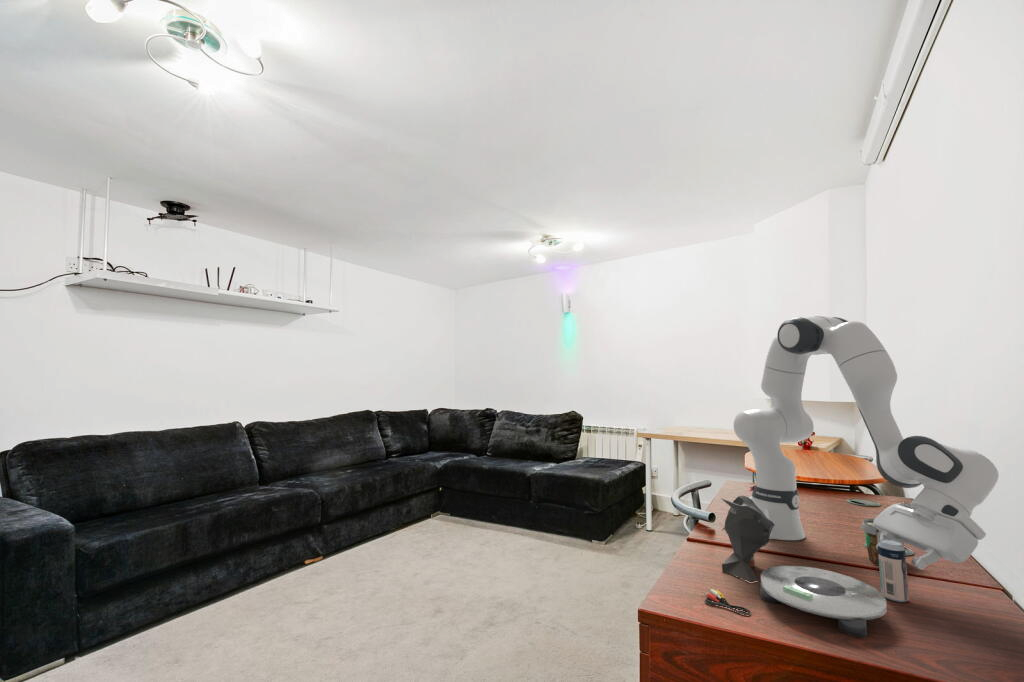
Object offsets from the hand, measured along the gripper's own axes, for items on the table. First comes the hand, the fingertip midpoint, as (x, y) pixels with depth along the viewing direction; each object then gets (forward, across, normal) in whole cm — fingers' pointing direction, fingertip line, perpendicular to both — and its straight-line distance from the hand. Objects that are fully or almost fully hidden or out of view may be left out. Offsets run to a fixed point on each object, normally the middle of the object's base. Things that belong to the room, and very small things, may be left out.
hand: (897, 558), depth 103 cm
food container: (-3, -22, +16) cm, 28 cm away
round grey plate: (+21, +4, -8) cm, 23 cm away
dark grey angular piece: (+24, -18, -12) cm, 32 cm away
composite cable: (+35, +3, -22) cm, 42 cm away
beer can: (+7, 0, +5) cm, 9 cm away
